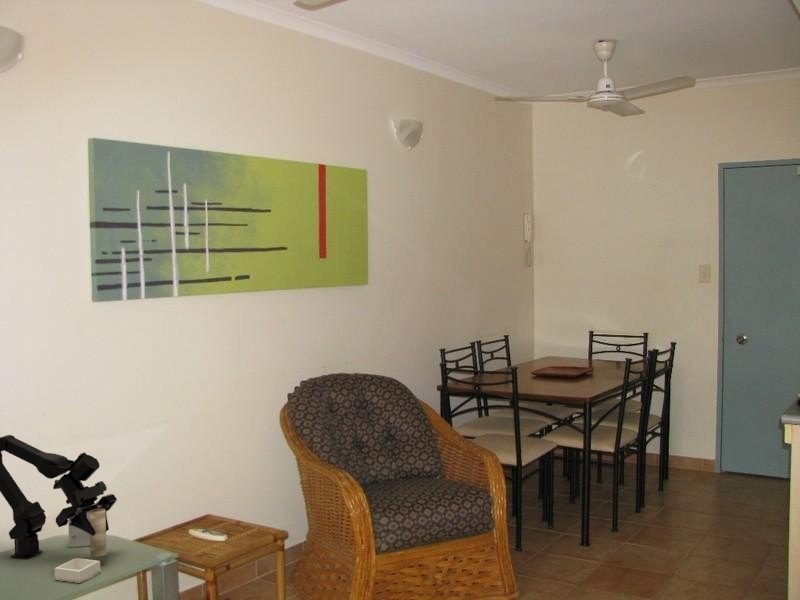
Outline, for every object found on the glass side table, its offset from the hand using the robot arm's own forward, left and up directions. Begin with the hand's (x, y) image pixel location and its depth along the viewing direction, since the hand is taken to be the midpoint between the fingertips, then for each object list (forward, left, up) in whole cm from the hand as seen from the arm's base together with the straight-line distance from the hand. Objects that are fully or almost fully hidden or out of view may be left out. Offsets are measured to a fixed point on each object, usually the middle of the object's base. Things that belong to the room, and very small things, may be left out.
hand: (101, 532), depth 241 cm
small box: (-18, +14, -10) cm, 25 cm away
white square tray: (0, -10, -10) cm, 14 cm away
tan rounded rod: (-1, 0, -7) cm, 7 cm away
